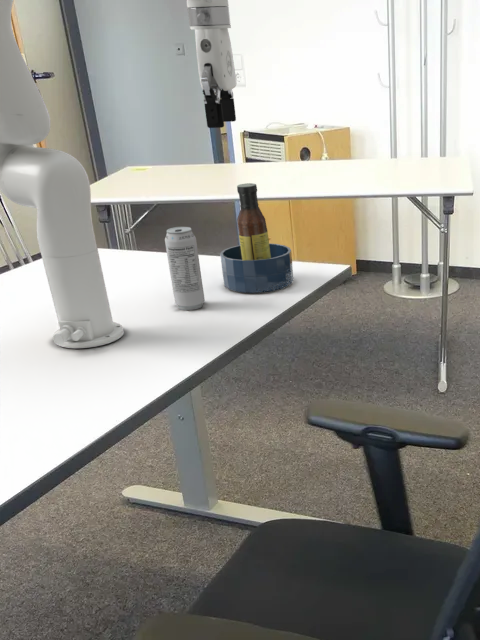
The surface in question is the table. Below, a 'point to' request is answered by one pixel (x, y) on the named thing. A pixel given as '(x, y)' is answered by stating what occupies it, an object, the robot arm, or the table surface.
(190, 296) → the energy drink can
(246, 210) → the sauce bottle
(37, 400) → the table surface
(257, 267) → the navy blue bowl
